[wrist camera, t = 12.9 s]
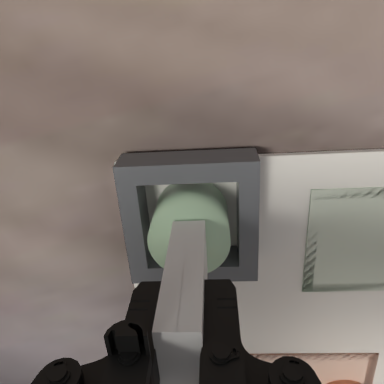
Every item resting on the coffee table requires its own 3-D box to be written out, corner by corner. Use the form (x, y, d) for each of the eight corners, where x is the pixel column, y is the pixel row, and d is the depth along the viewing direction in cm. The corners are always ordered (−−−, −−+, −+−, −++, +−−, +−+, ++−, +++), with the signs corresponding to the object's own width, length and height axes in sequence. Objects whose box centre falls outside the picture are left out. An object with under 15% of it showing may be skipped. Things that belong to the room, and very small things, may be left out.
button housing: (138, 261, 22) (132, 283, 20) (121, 153, 19) (112, 167, 17) (253, 259, 21) (257, 281, 20) (255, 147, 18) (260, 161, 17)
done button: (159, 242, 21) (151, 277, 18) (152, 179, 19) (142, 207, 16) (228, 240, 21) (231, 275, 18) (226, 176, 19) (229, 204, 16)
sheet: (162, 445, 31) (161, 451, 30) (115, 160, 19) (113, 163, 19) (379, 447, 29) (381, 454, 29) (461, 145, 18) (467, 148, 18)
